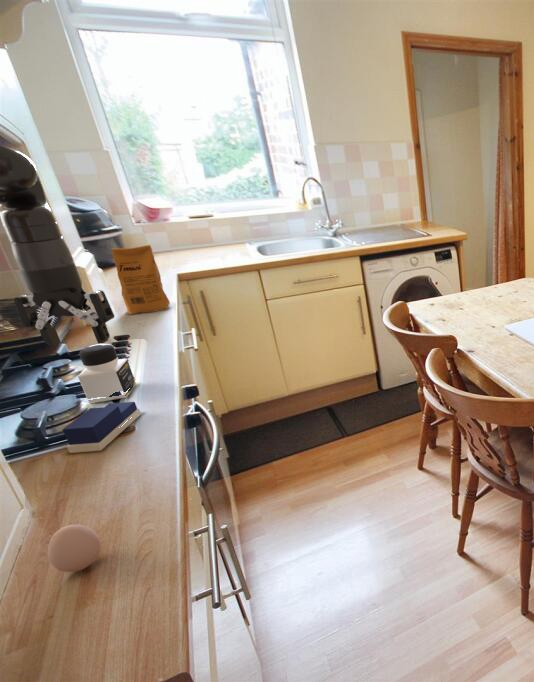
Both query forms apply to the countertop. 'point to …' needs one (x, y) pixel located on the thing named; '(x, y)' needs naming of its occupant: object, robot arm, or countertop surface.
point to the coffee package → (140, 279)
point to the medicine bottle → (104, 373)
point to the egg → (73, 548)
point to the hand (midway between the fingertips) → (79, 343)
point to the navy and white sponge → (99, 426)
